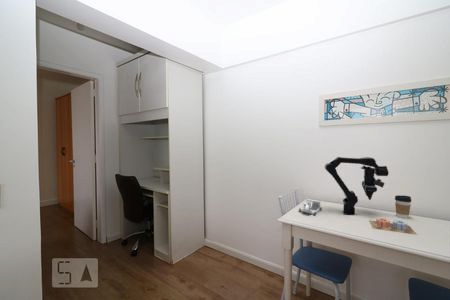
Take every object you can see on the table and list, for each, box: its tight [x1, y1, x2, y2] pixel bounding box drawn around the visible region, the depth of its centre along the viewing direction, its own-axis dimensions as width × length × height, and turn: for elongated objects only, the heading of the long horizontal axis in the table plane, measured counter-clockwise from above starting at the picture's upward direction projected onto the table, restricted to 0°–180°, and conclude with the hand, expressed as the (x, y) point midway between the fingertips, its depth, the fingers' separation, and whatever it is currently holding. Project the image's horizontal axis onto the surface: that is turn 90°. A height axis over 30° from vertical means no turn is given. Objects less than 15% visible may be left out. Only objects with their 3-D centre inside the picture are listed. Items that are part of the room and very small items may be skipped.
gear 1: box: [376, 217, 391, 228], centre depth 124 cm, size 6×6×4 cm
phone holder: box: [298, 198, 323, 217], centre depth 153 cm, size 18×10×12 cm
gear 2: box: [392, 219, 408, 231], centre depth 121 cm, size 6×6×4 cm
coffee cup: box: [394, 195, 412, 219], centre depth 138 cm, size 8×8×15 cm
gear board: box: [368, 218, 418, 236], centre depth 122 cm, size 20×13×6 cm, turn 64°
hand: (368, 197), depth 145 cm, fingers open, 9 cm apart
